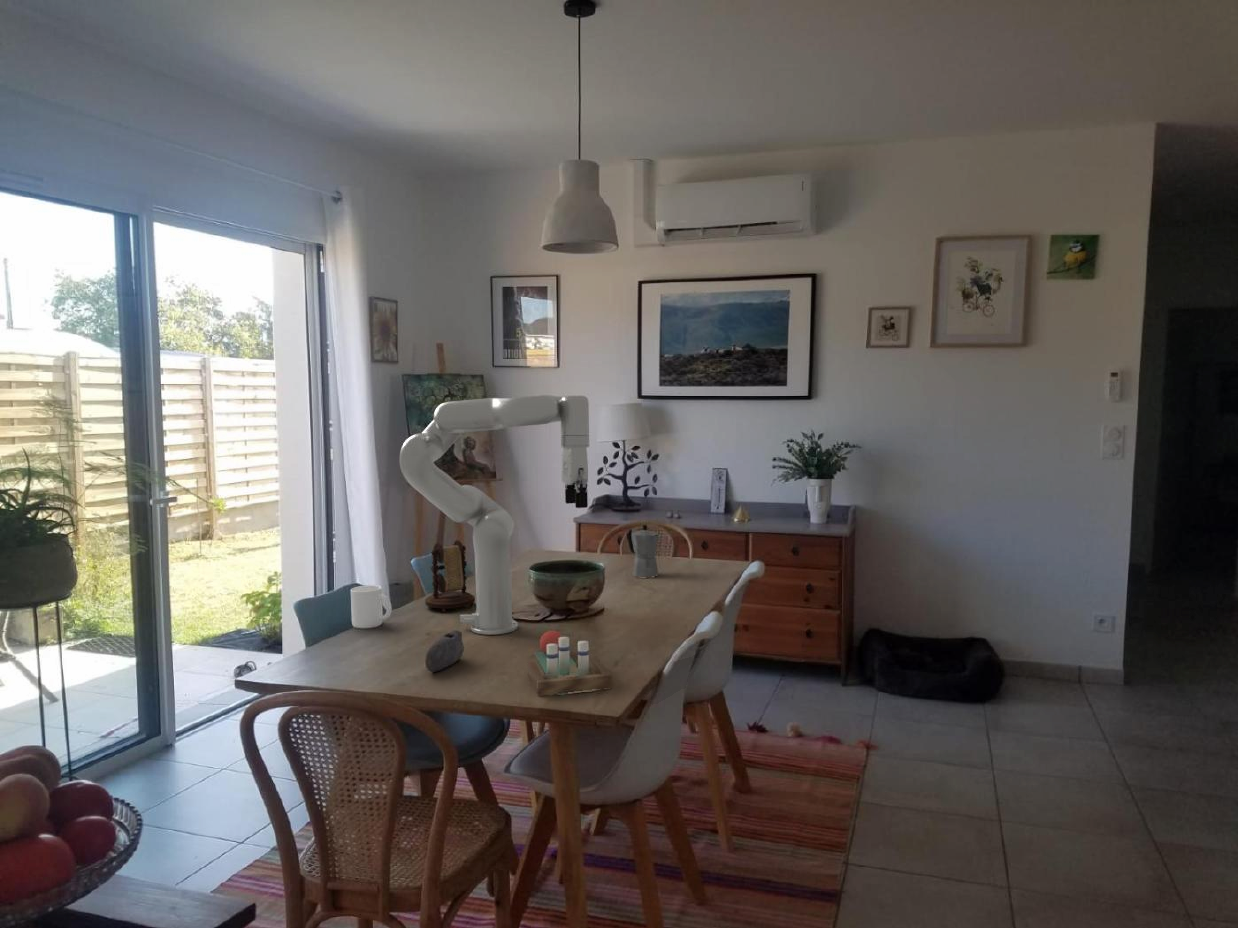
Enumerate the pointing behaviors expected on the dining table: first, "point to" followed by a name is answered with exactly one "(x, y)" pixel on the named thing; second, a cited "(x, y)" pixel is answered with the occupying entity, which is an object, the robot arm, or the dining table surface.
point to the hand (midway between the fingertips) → (576, 505)
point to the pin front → (564, 656)
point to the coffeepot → (643, 551)
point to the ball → (549, 640)
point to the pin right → (583, 658)
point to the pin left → (552, 661)
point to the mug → (368, 606)
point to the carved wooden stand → (449, 578)
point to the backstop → (571, 680)
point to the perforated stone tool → (445, 651)
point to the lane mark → (543, 661)
